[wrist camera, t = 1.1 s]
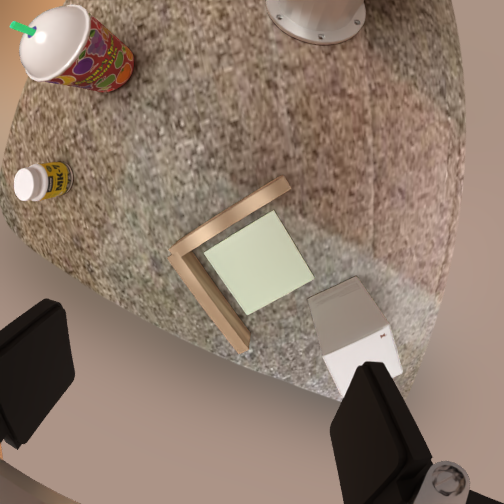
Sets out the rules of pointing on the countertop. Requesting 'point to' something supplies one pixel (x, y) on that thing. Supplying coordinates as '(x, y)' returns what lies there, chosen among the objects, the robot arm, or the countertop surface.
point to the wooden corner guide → (199, 277)
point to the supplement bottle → (43, 181)
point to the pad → (259, 263)
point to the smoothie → (73, 50)
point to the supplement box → (352, 332)
